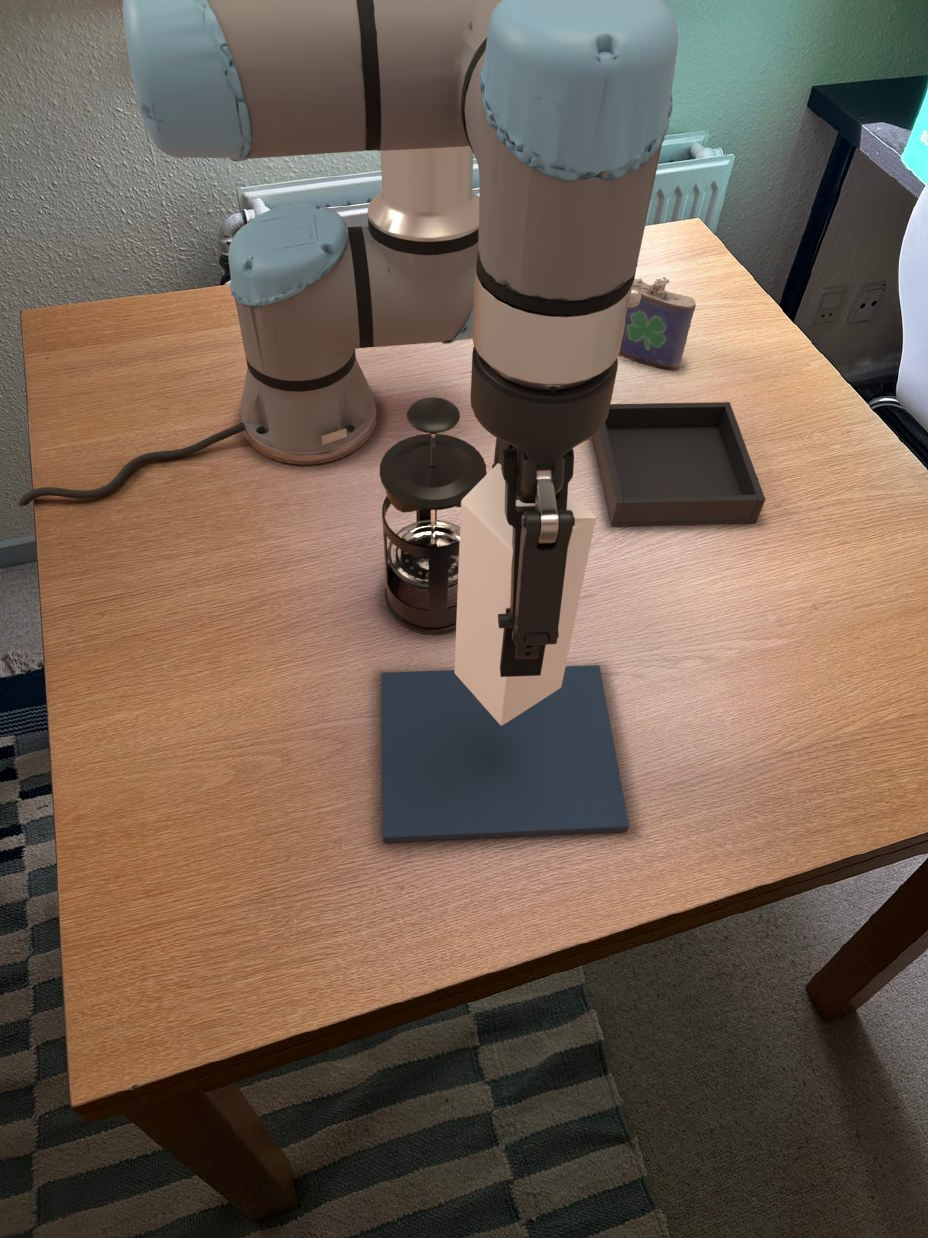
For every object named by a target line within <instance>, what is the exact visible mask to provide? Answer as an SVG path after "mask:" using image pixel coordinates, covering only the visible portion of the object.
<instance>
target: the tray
mask: <svg viewBox="0 0 928 1238" xmlns="http://www.w3.org/2000/svg"><path fill="white" fill-rule="evenodd" d="M591 440H592V444H593V448H594V454H595V457H596V462H597V467H598V471H599V476H600V481H601V486H602V488H603V490H602V491H603V495H604V499H605V505H606V508H607V513H608V517H609V522H610V527H644V526H645V527H647V526H648V527H649V526H651V527H652V526H684V525H691V526H692V525H725V524H729V525H731V524H756V523H757V522H758V520H759V516H760V514H761V512H762V510H763V507H764V505H765V502H766V498H765V495H764V492H763V489H762V485H761V483H760V480H759V478H758V476H757V473H756V470H755V467H754V465H753V462H752V459H751V455H750V454H749V451H748V449H747V446H746V442H745V439H744V437H743V434H742V432H741V429H740V427H739V424H738V421H737V418H736V416H735V412H734V410H733V407H732V404H731V402H730V401H723V402H722V401H721V402H719V401H718V402H717V401H716V402H670V403H669V402H662V403H661V402H659V403H658V402H657V403H656V402H655V403H652V402H651V403H611V404H610V409H609V414H608V417H607V419H606V421H605V423H604V425H603V426H602V427H601V429H600V430H599V431H598V432H597V433H596V434H595V435H593V436H592V437H591Z"/></svg>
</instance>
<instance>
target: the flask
mask: <svg viewBox="0 0 928 1238" xmlns="http://www.w3.org/2000/svg"><path fill="white" fill-rule="evenodd" d="M669 282H670V280H669V279H668V278H666V276H664V277H663V276H662V279H661V278H656V279H655V280H654V282H653V284H651V285H650V284H648V283H647V282H644V281H643V280H642V278H638V279H637V278H635V279H634V282H633V284H632V286H634V287H638V288H639V290H640V293H641V300H640V303H639V305H637V306H635V307H627V312H626V317H625V327H624V332H623V337H622V342H621V347H620V352H619V354H618V355H620V356H622V357H624V358H626V359H629V360H631V361H636V362H637V363H642V364H644V365H648V366H650V367H653V368H654V367H655V368H659V369H661V370H669V371H675V370H677V369H679V367H680V366H681V364H682V360H683V356H684V351H685V347H686V344H687V341H688V336H689V332H690V331H689V330H690V328H691V325H692V319H693V316H694V313H695V311H696V307H697V306H696V301H695V299H694V298H692V297H690V296H687V295H683V294H678V293H674V292H671V291H667V290H666V286H667V284H669Z"/></svg>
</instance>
